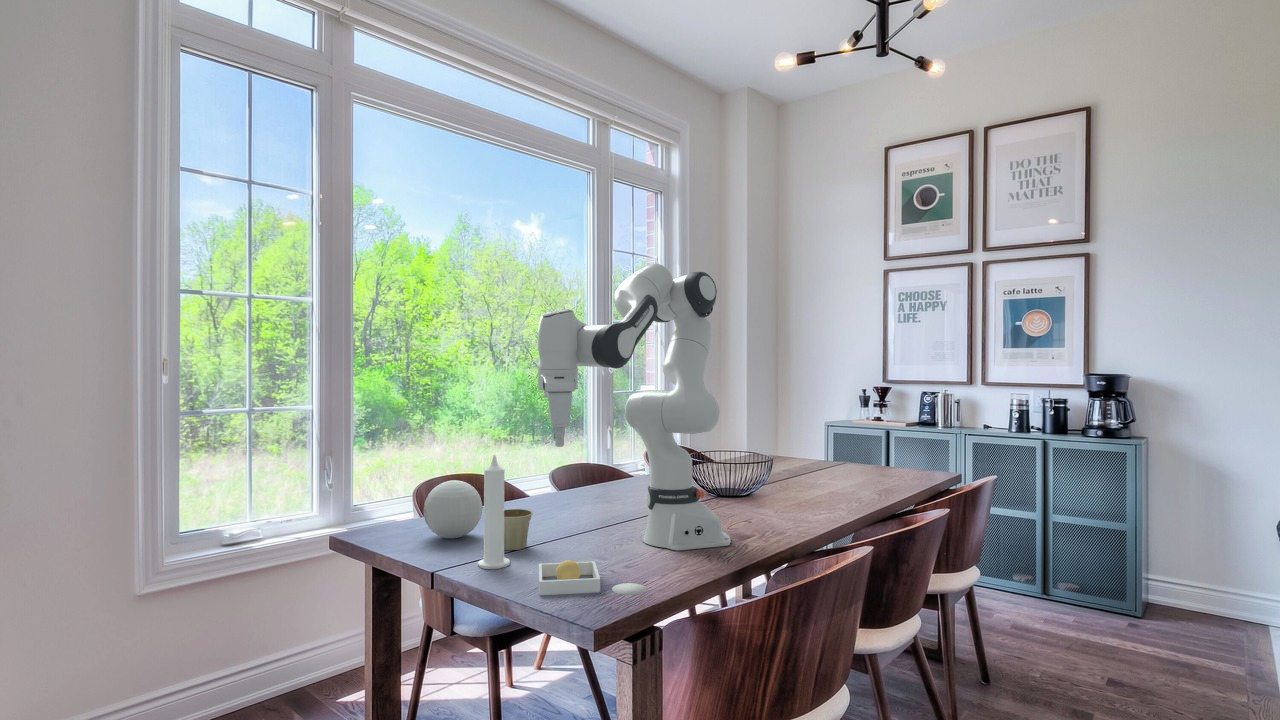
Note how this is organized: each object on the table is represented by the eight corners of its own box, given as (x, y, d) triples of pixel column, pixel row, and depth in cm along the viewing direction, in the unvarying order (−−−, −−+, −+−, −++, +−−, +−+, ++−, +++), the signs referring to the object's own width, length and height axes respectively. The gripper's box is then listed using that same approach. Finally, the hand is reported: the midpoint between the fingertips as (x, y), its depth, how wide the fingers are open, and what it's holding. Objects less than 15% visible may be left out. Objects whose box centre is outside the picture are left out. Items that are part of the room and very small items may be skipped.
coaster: (643, 584, 138) (643, 582, 138) (649, 595, 132) (649, 593, 132) (610, 585, 137) (610, 583, 137) (614, 597, 130) (614, 595, 130)
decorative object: (443, 529, 185) (444, 474, 185) (492, 532, 181) (492, 477, 181) (411, 542, 170) (411, 484, 170) (463, 547, 166) (463, 487, 166)
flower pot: (524, 553, 161) (524, 517, 161) (487, 551, 162) (488, 516, 163) (538, 543, 170) (538, 509, 170) (503, 541, 172) (503, 508, 172)
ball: (579, 579, 140) (579, 556, 140) (581, 588, 135) (581, 564, 135) (555, 580, 140) (555, 557, 139) (556, 589, 135) (556, 565, 134)
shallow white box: (594, 575, 144) (594, 561, 144) (600, 593, 132) (600, 578, 132) (538, 577, 142) (538, 563, 142) (539, 597, 131) (539, 581, 131)
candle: (480, 560, 155) (481, 452, 155) (511, 559, 156) (511, 452, 156) (475, 569, 148) (476, 457, 148) (507, 569, 148) (508, 456, 149)
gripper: (542, 380, 159) (543, 438, 159) (545, 384, 139) (545, 450, 139) (569, 379, 160) (569, 437, 160) (575, 383, 140) (576, 449, 140)
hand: (558, 443), depth 149 cm, fingers open, 8 cm apart
